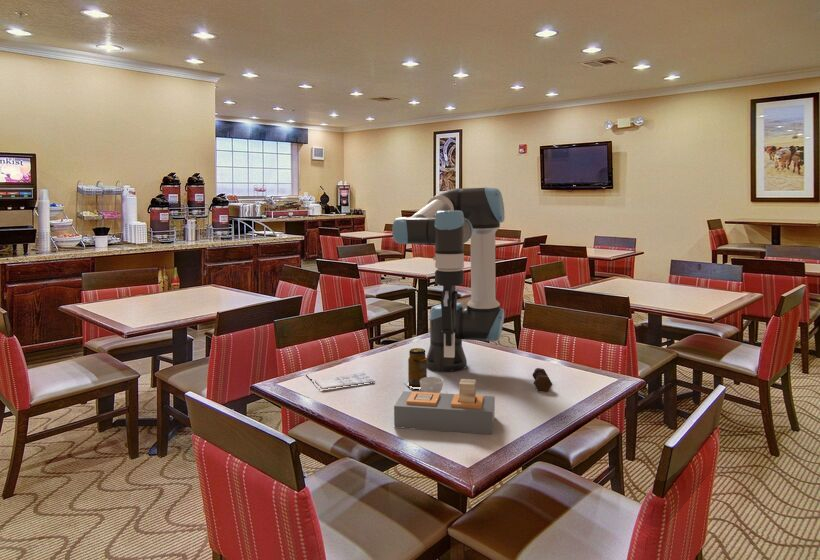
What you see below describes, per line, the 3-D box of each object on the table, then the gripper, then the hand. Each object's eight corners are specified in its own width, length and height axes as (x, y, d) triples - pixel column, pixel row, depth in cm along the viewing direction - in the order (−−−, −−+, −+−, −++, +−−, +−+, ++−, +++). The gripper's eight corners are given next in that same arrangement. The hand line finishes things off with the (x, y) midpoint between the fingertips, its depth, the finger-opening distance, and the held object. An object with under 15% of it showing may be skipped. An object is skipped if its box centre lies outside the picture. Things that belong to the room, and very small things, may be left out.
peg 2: (460, 402, 152) (460, 379, 151) (475, 403, 151) (475, 379, 150) (459, 407, 148) (459, 383, 147) (474, 408, 147) (474, 384, 146)
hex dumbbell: (540, 382, 190) (545, 396, 175) (527, 375, 190) (531, 388, 175) (549, 368, 189) (555, 380, 174) (536, 361, 189) (540, 372, 175)
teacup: (415, 389, 179) (415, 375, 178) (446, 389, 179) (446, 375, 178) (415, 400, 169) (415, 385, 169) (448, 400, 169) (448, 385, 168)
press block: (403, 411, 160) (403, 388, 159) (494, 417, 154) (494, 393, 154) (394, 427, 148) (394, 403, 147) (492, 434, 143) (492, 409, 142)
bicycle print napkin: (320, 393, 177) (319, 387, 177) (305, 376, 195) (304, 370, 195) (375, 385, 185) (375, 379, 184) (356, 369, 203) (356, 363, 203)
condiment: (423, 380, 187) (423, 346, 186) (433, 388, 179) (433, 352, 178) (403, 383, 185) (402, 348, 183) (412, 391, 177) (411, 354, 175)
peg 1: (418, 416, 155) (417, 394, 154) (432, 417, 154) (432, 394, 153) (415, 422, 151) (415, 399, 150) (429, 423, 150) (429, 399, 149)
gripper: (439, 266, 152) (439, 349, 156) (430, 272, 140) (430, 362, 143) (466, 267, 151) (466, 351, 154) (459, 272, 138) (459, 364, 141)
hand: (449, 356), depth 148 cm, fingers closed
